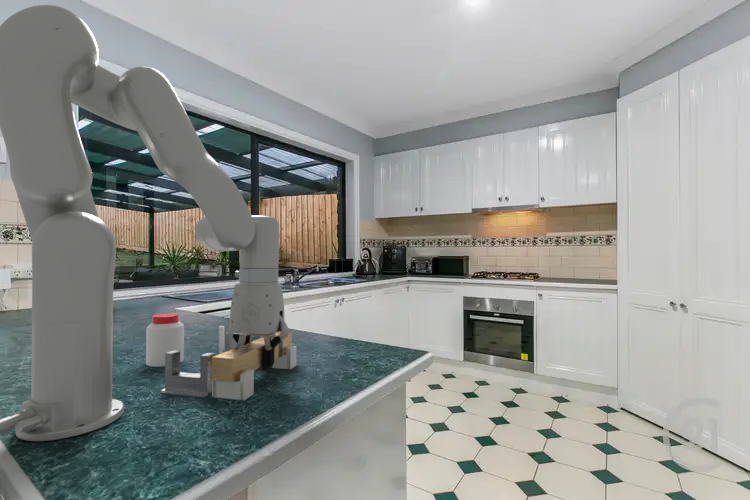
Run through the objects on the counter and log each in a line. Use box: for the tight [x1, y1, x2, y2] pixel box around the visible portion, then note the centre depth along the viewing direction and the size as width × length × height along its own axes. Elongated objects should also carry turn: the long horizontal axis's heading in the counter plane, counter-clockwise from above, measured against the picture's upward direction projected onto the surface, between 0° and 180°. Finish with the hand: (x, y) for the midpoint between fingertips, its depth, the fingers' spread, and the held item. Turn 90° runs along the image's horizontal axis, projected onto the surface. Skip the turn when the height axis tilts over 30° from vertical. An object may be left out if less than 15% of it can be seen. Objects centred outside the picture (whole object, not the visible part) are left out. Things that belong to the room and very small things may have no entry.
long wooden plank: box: [212, 332, 293, 382], centre depth 76 cm, size 23×4×4 cm, turn 167°
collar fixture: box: [160, 325, 264, 398], centre depth 78 cm, size 22×9×9 cm, turn 167°
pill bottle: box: [145, 312, 185, 368], centre depth 88 cm, size 8×8×11 cm
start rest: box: [211, 345, 297, 401], centre depth 76 cm, size 21×6×4 cm, turn 167°
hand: (257, 366), depth 76 cm, fingers closed on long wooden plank, 4 cm apart
